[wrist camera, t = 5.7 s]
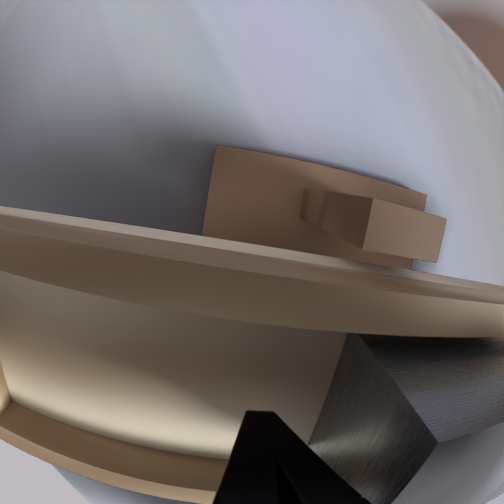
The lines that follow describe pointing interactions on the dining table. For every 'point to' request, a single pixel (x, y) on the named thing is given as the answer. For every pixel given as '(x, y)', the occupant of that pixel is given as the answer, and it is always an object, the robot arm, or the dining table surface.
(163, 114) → the dining table surface
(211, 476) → the beam
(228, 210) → the stand
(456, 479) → the block
